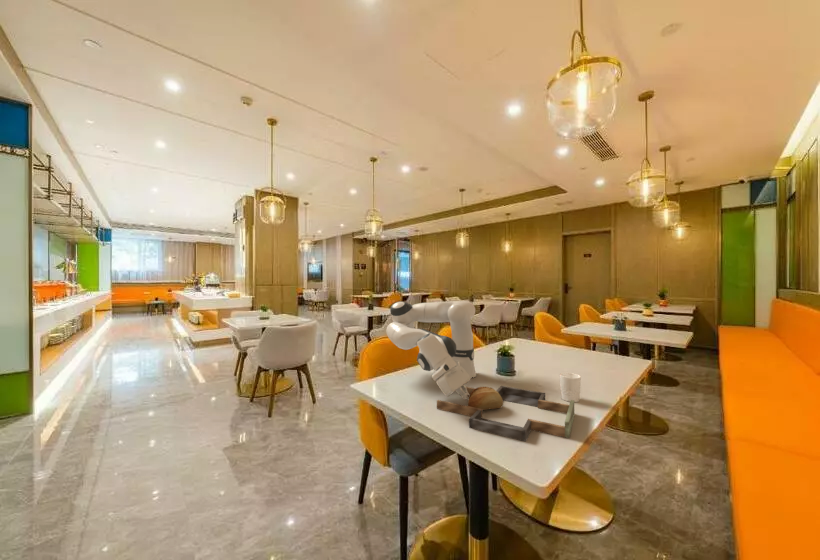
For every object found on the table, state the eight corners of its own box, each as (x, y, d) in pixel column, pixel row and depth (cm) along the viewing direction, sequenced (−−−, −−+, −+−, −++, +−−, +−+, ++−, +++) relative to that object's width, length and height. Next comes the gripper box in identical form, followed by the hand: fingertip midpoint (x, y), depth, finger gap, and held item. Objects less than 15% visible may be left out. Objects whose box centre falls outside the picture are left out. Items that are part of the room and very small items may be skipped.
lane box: (425, 417, 117) (425, 403, 117) (465, 386, 150) (465, 375, 150) (566, 451, 93) (566, 434, 93) (576, 405, 126) (576, 393, 126)
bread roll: (461, 407, 126) (461, 387, 126) (493, 401, 131) (492, 382, 131) (475, 416, 117) (475, 395, 117) (508, 410, 122) (508, 389, 122)
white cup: (576, 396, 136) (575, 372, 136) (584, 403, 129) (584, 378, 129) (557, 395, 137) (556, 372, 137) (564, 402, 129) (563, 378, 129)
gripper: (450, 366, 140) (470, 394, 135) (429, 378, 122) (451, 410, 117) (461, 358, 137) (481, 386, 133) (440, 369, 120) (463, 401, 115)
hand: (467, 397), depth 125 cm, fingers closed
